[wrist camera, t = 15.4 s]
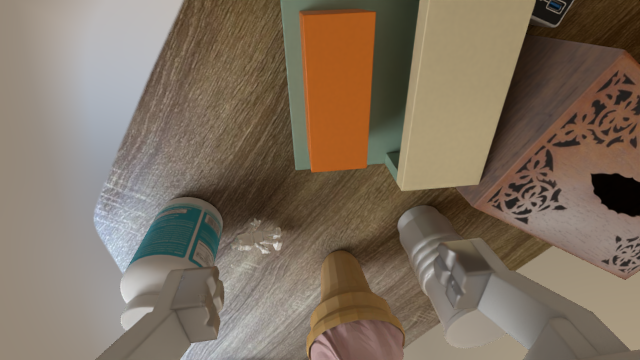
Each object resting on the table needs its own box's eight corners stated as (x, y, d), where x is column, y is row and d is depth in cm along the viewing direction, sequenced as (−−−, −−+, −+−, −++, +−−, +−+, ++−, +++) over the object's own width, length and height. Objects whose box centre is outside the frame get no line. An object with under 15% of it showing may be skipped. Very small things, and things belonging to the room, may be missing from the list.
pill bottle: (150, 226, 35) (86, 334, 24) (175, 183, 33) (117, 283, 21) (208, 249, 38) (175, 355, 27) (235, 211, 36) (212, 312, 24)
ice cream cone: (330, 295, 46) (356, 467, 29) (285, 259, 41) (285, 444, 24) (389, 262, 43) (456, 430, 27) (349, 219, 38) (400, 396, 21)
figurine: (251, 249, 46) (201, 254, 42) (280, 213, 37) (220, 215, 33) (256, 278, 43) (203, 286, 39) (287, 247, 35) (225, 254, 31)
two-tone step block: (294, 152, 32) (297, 200, 25) (278, -25, 24) (275, -35, 16) (434, 141, 33) (479, 184, 26) (468, -31, 25) (550, -43, 17)
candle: (448, 229, 41) (520, 333, 28) (401, 247, 42) (451, 355, 29) (439, 194, 37) (517, 295, 25) (387, 214, 38) (438, 321, 26)
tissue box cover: (426, 154, 34) (472, 206, 26) (522, 33, 28) (625, 49, 19) (558, 223, 43) (625, 280, 34) (653, 143, 36) (764, 187, 28)
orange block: (299, 11, 22) (302, 14, 17) (358, 8, 22) (376, 11, 18) (307, 145, 27) (311, 172, 23) (354, 142, 28) (366, 168, 24)
